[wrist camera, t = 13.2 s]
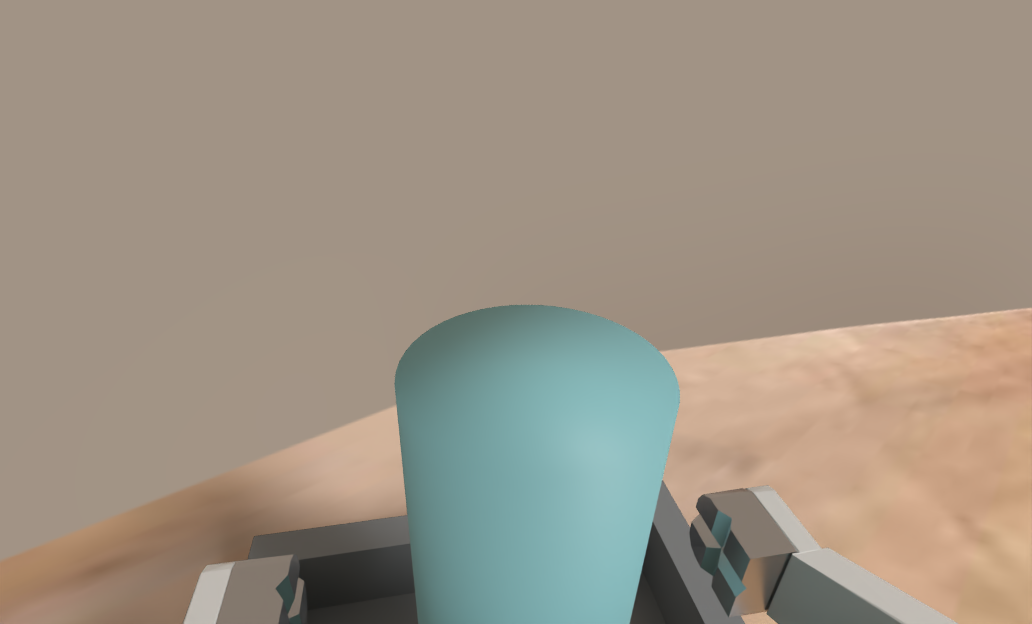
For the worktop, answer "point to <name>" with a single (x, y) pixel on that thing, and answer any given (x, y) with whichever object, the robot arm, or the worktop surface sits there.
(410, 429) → the dowel
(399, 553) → the tray
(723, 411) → the worktop surface
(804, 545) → the robot arm
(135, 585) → the worktop surface
